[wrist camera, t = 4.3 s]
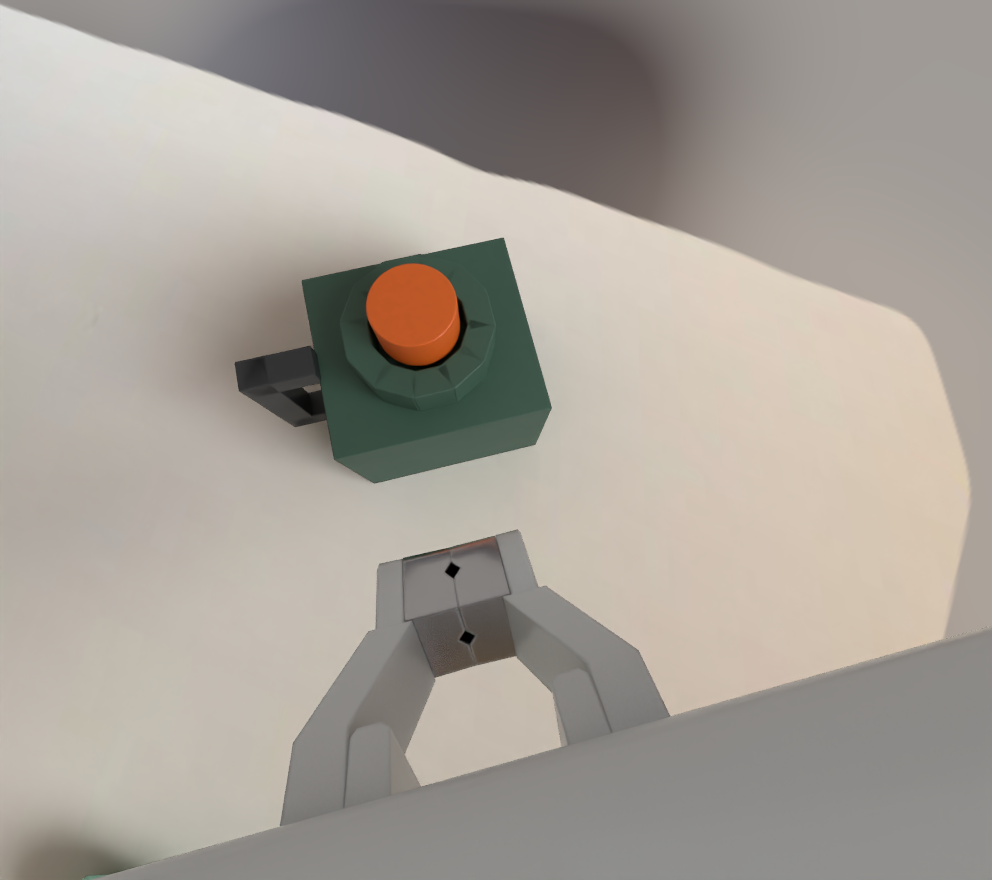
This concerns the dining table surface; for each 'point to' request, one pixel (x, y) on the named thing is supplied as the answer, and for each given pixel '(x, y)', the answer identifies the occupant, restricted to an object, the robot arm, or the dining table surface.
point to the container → (93, 877)
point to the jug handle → (284, 384)
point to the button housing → (428, 371)
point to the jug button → (414, 314)
